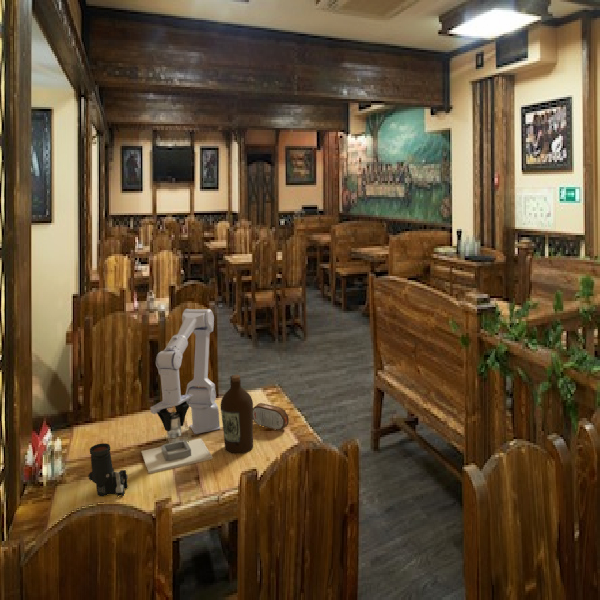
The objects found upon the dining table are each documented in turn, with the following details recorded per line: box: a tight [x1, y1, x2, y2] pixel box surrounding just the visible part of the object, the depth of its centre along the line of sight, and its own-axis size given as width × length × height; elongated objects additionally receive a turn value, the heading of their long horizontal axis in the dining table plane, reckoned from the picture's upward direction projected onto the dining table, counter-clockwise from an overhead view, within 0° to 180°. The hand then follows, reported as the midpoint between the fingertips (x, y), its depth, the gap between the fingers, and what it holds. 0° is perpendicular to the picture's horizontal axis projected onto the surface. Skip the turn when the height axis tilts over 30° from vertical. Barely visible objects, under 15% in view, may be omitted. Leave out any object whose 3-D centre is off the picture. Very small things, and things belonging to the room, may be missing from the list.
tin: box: [253, 402, 290, 431], centre depth 189 cm, size 15×3×8 cm, turn 58°
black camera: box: [87, 442, 129, 498], centre depth 148 cm, size 8×14×10 cm
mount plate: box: [141, 437, 213, 474], centre depth 170 cm, size 20×15×3 cm
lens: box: [166, 411, 183, 439], centre depth 168 cm, size 4×4×7 cm
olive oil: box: [220, 374, 254, 455], centre depth 172 cm, size 11×11×25 cm
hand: (174, 427), depth 168 cm, fingers closed on lens, 4 cm apart
